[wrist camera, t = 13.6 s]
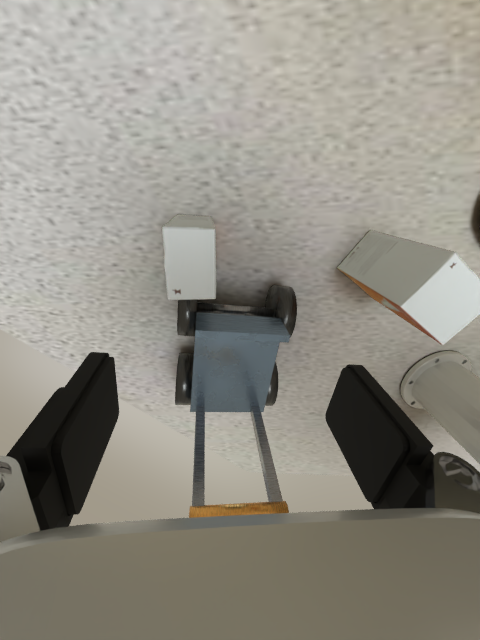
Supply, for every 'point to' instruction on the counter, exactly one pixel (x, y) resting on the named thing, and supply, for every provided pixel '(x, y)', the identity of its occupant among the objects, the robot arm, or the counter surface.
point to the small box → (416, 282)
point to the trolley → (234, 380)
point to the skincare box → (190, 257)
